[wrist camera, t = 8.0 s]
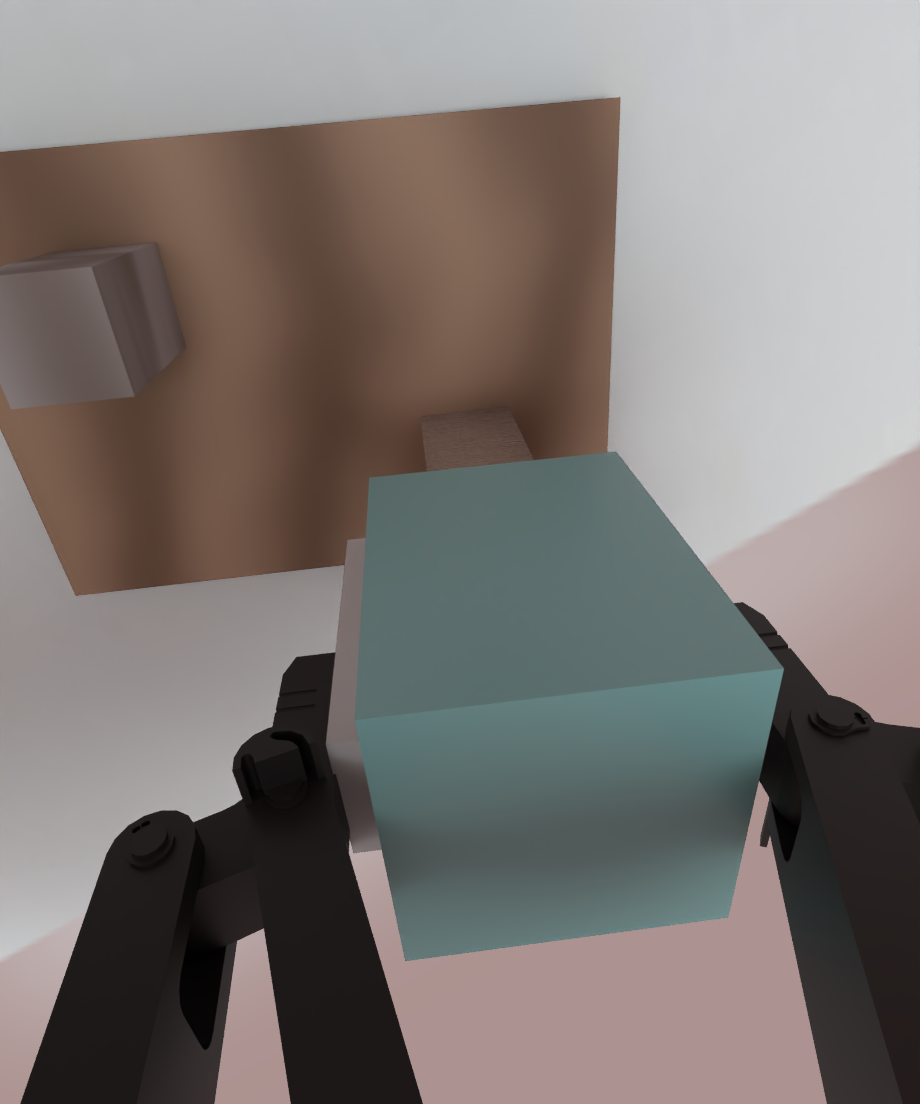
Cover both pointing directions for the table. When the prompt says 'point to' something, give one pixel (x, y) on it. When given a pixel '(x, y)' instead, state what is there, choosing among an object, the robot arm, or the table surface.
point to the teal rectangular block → (551, 707)
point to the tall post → (472, 439)
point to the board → (293, 325)
